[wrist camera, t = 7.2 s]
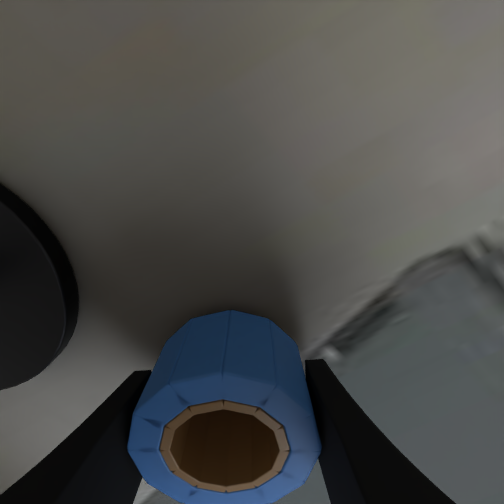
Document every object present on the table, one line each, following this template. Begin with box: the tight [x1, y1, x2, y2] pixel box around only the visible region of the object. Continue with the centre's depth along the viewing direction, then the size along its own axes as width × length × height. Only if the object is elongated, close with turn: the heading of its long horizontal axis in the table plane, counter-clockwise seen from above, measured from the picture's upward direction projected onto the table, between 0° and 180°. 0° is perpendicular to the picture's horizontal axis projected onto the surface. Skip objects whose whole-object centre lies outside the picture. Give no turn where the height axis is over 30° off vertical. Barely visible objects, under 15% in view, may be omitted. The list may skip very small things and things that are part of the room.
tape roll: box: [127, 310, 322, 504], centre depth 9 cm, size 5×5×3 cm
